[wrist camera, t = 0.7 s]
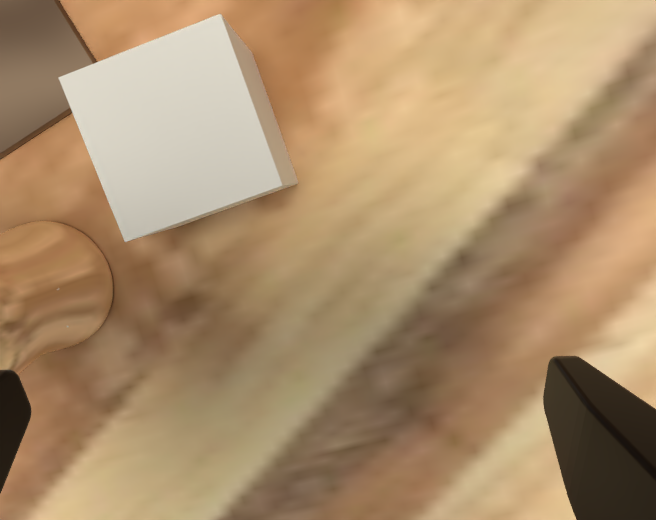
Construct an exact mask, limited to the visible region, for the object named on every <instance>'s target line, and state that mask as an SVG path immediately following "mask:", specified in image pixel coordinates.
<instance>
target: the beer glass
mask: <svg viewBox="0 0 656 520" xmlns="http://www.w3.org/2000/svg"><path fill="white" fill-rule="evenodd" d="M112 299H113V280H112V275H111V271H110V268H109V265H108V263H107V261H106V259H105V257H104V255H103V254H102V252H101V251H100V249H99V248H98V247H97V246H96V244H95V243H94V242H93V241H92V240H91V239H90V238H89V237H87V236H86V235H85V234H83V233H82V232H80V231H79V230H77V229H75V228H73V227H71V226H68V225H65V224H62V223H58V222H53V221H35V222H29V223H25V224H22V225H19V226H17V227H14V228H12V229H10V230H8V231H6V232H4V233H2V234H0V370H13V371H15V372H16V373H17V374H18V375H19V374H20V373H21V372H22V371H23V370H24V369H25V368H26V367H27V366H28V365H30V364H31V363H32V362H33V361H34V360H35V359H36V358H38V357H39V356H41V355H43V354H45V353H48V352H52V351H57V350H61V349H65V348H68V347H71V346H74V345H76V344H79V343H81V342H82V341H84V340H86V339H87V338H89V337H90V336H92V335H93V334H94V333H95V332H96V331H97V330H98V329H99V328H100V326H101V325H102V324H103V322H104V321H105V319H106V317H107V315H108V313H109V310H110V307H111V304H112Z"/></svg>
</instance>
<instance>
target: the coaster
mask: <svg viewBox="0 0 656 520" xmlns="http://www.w3.org/2000/svg"><path fill="white" fill-rule="evenodd" d="M94 63H96V60H95V59H94V57H93V55H92V54H91V52H90V50H89V49H88V47H87V46H86V44H85V42H84V41H83V39H82V37H81V36H80V34H79V33H78V31H77V29H76V28H75V26H74V24H73V23H72V21H71V20H70V18H69V16H68V15H67V13H66V12H65V10H64V8H63V7H62V5H61V3H60V2H59V0H0V159H1V158H3V157H4V156H6V155H7V154H9V153H10V152H12V151H14V150H15V149H17V148H18V147H20V146H21V145H23V144H24V143H26V142H27V141H29V140H30V139H32V138H34V137H35V136H37V135H38V134H40V133H41V132H43V131H44V130H46V129H47V128H49V127H50V126H52V125H53V124H55V123H57V122H58V121H60V120H61V119H63V118H64V117H66V116H67V115H69V114H70V113H72V110H71V108H70V105H69V103H68V100H67V98H66V95H65V93H64V90H63V88H62V85H61V83H60V80H59V78H58V77H61V76H63V75H66V74H68V73H71V72H74V71H76V70H79V69H81V68H84V67H86V66H89V65H91V64H94Z"/></svg>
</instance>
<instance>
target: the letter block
mask: <svg viewBox="0 0 656 520" xmlns="http://www.w3.org/2000/svg"><path fill="white" fill-rule="evenodd" d="M58 78H59V80H60V83H61V85H62V88H63V90H64V93H65V95H66V98H67V100H68V103H69V105H70V108H71V110H72V113H73V115H74V118H75V120H76V122H77V125H78V127H79V130H80V132H81V135H82V137H83V140H84V142H85V145H86V147H87V150H88V152H89V155H90V157H91V160H92V162H93V164H94V167H95V169H96V172H97V174H98V177H99V179H100V182H101V184H102V187H103V189H104V192H105V194H106V197H107V199H108V202H109V204H110V207H111V209H112V211H113V214H114V216H115V219H116V221H117V224H118V226H119V229H120V231H121V234H122V236H123V239H124V241H125V242H127V241H131V240H134V239H138V238H141V237H144V236H148V235H151V234H155V233H158V232H162V231H165V230H169V229H172V228H176V227H179V226H182V225H184V224H187V223H190V222H193V221H195V220H198V219H201V218H204V217H207V216H209V215H212V214H215V213H218V212H221V211H223V210H226V209H229V208H232V207H234V206H237V205H240V204H243V203H246V202H248V201H251V200H254V199H257V198H259V197H262V196H265V195H268V194H271V193H273V192H276V191H279V190H282V189H285V188H287V187H290V186H293V185H296V184H298V183H299V182H298V180H297V177H296V174H295V171H294V168H293V166H292V163H291V160H290V157H289V154H288V152H287V149H286V146H285V143H284V140H283V138H282V135H281V132H280V129H279V126H278V124H277V121H276V118H275V115H274V112H273V110H272V107H271V104H270V101H269V98H268V96H267V93H266V90H265V87H264V84H263V82H262V79H261V76H260V73H259V70H258V68H257V65H256V62H255V59H254V56H253V54H252V52H251V51H250V49H249V48H248V47H247V46H246V45H245V43H244V42H243V41H242V40H241V38H240V37H239V36H238V35H237V33H236V32H235V31H234V30H233V28H232V27H231V26H230V25H229V24H228V22H227V21H226V20H225V19H224V17H223V16H222V15H221V14H218V15H216V16H213V17H211V18H208V19H206V20H203V21H201V22H198V23H195V24H193V25H190V26H188V27H185V28H183V29H180V30H178V31H175V32H173V33H170V34H168V35H165V36H162V37H160V38H157V39H155V40H152V41H150V42H147V43H145V44H142V45H140V46H137V47H135V48H132V49H129V50H127V51H124V52H122V53H119V54H117V55H114V56H112V57H109V58H107V59H104V60H101V61H99V62H96V63H94V64H91V65H89V66H86V67H84V68H81V69H79V70H76V71H74V72H71V73H68V74H66V75H63V76H61V77H58Z"/></svg>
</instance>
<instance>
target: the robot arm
mask: <svg viewBox="0 0 656 520" xmlns="http://www.w3.org/2000/svg"><path fill="white" fill-rule="evenodd" d="M543 402H544V409H545V414H546V417H547V421H548V425H549V429H550V432H551V436H552V440H553V444H554V447H555V451H556V455H557V459H558V462H559V466H560V470H561V474H562V477H563V481H564V485H565V488H566V491H567V495H568V498H569V501H570V504H571V506H572V509H573V512H574V514H575V517H576V519H577V520H656V409H655V408H653V407H652V406H650V405H649V404H647V403H646V402H645V401H643V400H642V399H640V398H639V397H637V396H636V395H634V394H633V393H631V392H630V391H628V390H627V389H625V388H624V387H622V386H621V385H620V384H618V383H617V382H615V381H614V380H612V379H611V378H609V377H608V376H606V375H605V374H603V373H602V372H600V371H599V370H597V369H596V368H595V367H593V366H592V365H590V364H589V363H587V362H586V361H584V360H583V359H581V358H579V357H577V356H555V357H553V358H552V359H551V360H550V362H549V365H548V370H547V377H546V383H545V389H544V396H543ZM30 417H31V406H30V403H29V400H28V398H27V395H26V393H25V390H24V388H23V386H22V383H21V381H20V378H19V376H18V374H17V373H16V372H15V371H13V370H0V493H1V491H2V488H3V486H4V483H5V481H6V478H7V476H8V473H9V471H10V468H11V466H12V463H13V461H14V458H15V456H16V453H17V451H18V448H19V446H20V443H21V441H22V438H23V436H24V433H25V431H26V428H27V426H28V423H29V421H30Z"/></svg>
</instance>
